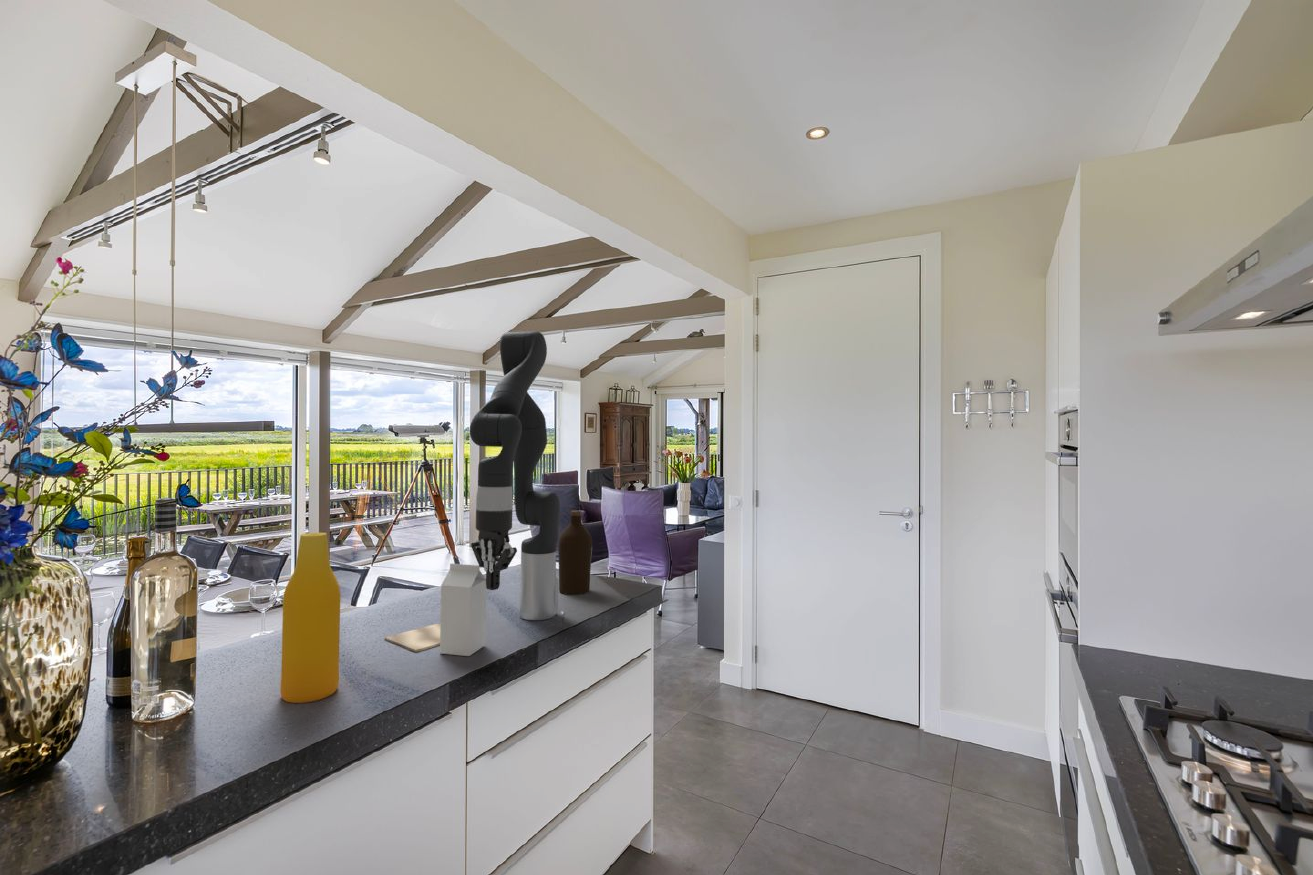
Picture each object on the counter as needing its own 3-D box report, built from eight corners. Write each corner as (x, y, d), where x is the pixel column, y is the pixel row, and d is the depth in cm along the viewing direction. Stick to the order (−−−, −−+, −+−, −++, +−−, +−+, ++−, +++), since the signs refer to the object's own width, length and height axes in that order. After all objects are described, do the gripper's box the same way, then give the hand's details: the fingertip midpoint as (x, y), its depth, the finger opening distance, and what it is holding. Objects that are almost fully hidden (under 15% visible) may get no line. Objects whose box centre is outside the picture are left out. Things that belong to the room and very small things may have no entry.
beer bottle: (267, 701, 105) (271, 537, 105) (306, 680, 114) (310, 529, 114) (313, 706, 103) (317, 539, 103) (349, 685, 112) (353, 531, 112)
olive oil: (566, 597, 178) (567, 513, 178) (551, 589, 187) (553, 510, 187) (597, 592, 184) (599, 511, 184) (581, 585, 193) (583, 508, 193)
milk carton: (469, 657, 128) (471, 568, 128) (439, 654, 129) (441, 566, 129) (485, 646, 135) (487, 562, 135) (456, 643, 136) (458, 560, 136)
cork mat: (441, 624, 150) (442, 622, 150) (473, 635, 142) (473, 633, 142) (384, 639, 138) (384, 637, 138) (415, 652, 130) (415, 650, 130)
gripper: (528, 508, 125) (527, 591, 125) (489, 503, 133) (487, 581, 133) (500, 511, 119) (498, 598, 119) (460, 506, 127) (458, 587, 127)
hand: (492, 589), depth 126 cm, fingers closed
